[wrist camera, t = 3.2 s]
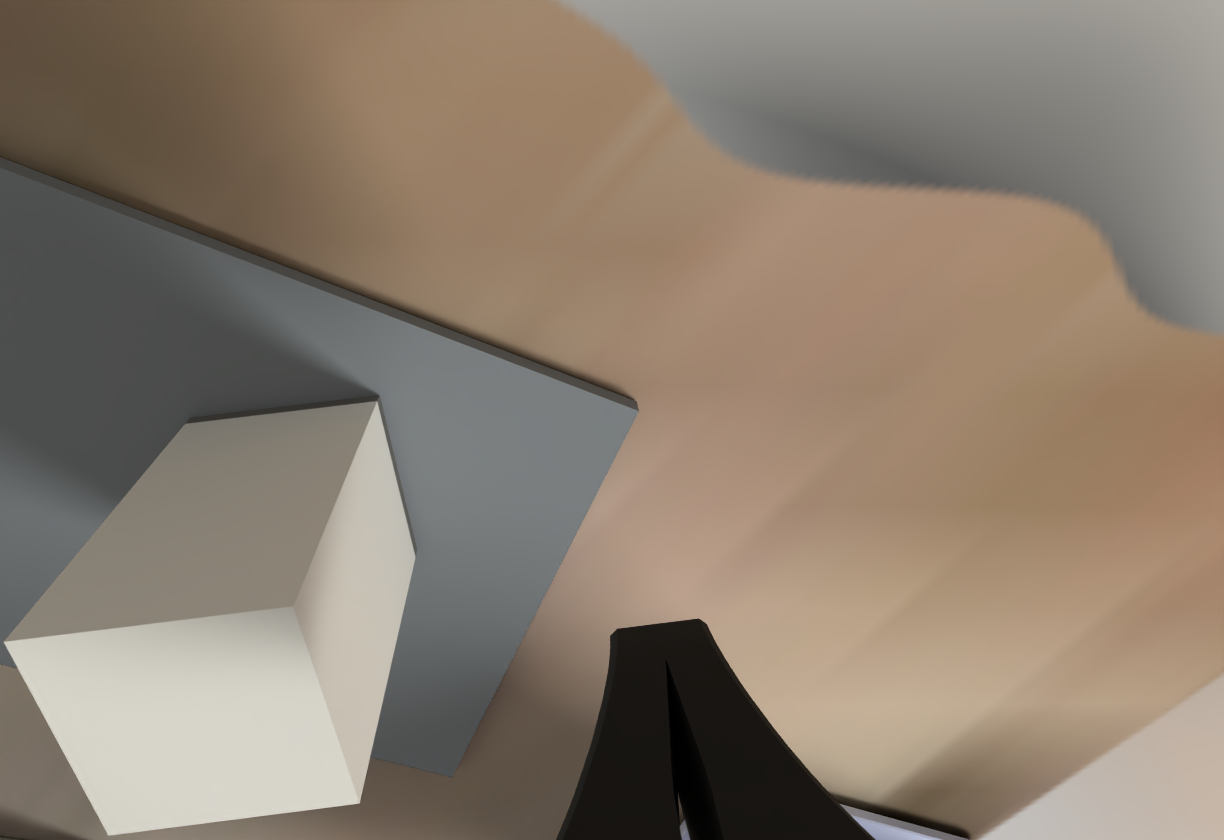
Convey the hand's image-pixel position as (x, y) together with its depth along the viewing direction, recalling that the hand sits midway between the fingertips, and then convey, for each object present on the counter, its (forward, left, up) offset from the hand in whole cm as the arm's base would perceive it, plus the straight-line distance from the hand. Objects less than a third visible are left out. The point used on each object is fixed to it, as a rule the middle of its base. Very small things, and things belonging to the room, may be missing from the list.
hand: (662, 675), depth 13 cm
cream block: (+6, +4, -7) cm, 10 cm away
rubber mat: (+8, +5, -8) cm, 12 cm away
